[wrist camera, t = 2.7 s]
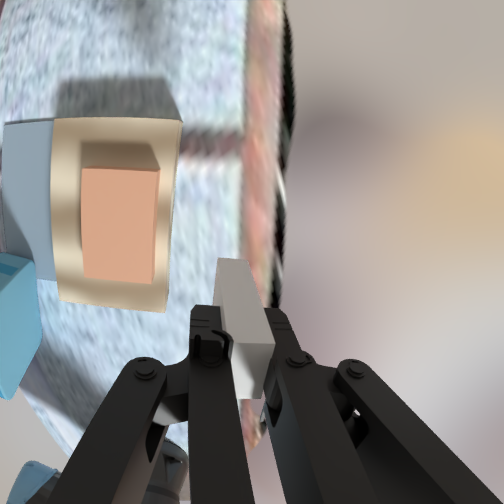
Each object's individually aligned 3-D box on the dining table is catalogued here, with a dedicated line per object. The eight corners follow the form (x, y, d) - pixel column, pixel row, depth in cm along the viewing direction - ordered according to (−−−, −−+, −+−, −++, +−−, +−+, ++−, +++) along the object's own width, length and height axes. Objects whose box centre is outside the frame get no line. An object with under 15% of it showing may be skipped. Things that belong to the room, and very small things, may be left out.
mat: (73, 282, 28) (72, 283, 28) (11, 273, 27) (10, 274, 26) (72, 119, 22) (71, 119, 22) (5, 125, 21) (4, 125, 20)
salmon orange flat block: (154, 273, 25) (151, 284, 23) (91, 267, 24) (84, 277, 22) (160, 169, 22) (156, 172, 20) (90, 165, 21) (81, 168, 19)
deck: (168, 292, 31) (165, 313, 27) (73, 282, 28) (59, 300, 25) (183, 122, 25) (179, 119, 21) (72, 119, 22) (54, 118, 19)
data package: (5, 247, 25) (-55, 302, 14) (35, 254, 26) (-23, 317, 15) (17, 329, 29) (-21, 392, 18) (44, 338, 30) (9, 406, 19)
